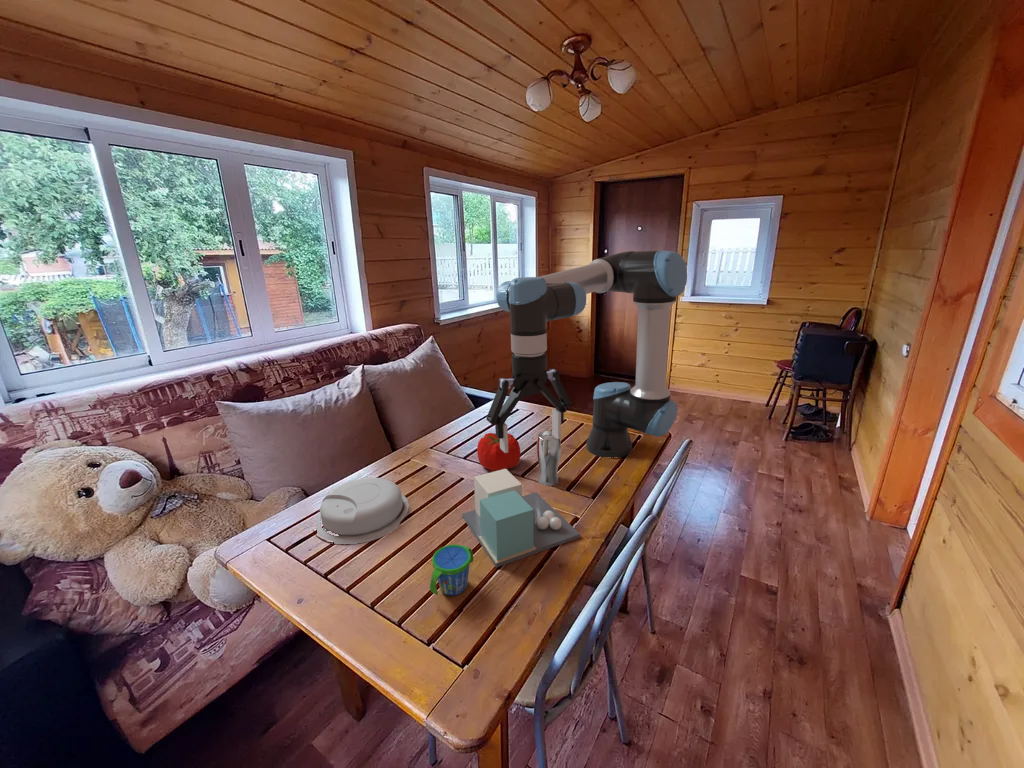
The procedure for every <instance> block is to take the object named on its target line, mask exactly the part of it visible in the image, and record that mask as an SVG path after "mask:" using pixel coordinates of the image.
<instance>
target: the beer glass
mask: <svg viewBox="0 0 1024 768" xmlns="http://www.w3.org/2000/svg"><path fill="white" fill-rule="evenodd" d="M536 439H537V441H536V457H537V461H538V468H539V473H538V478H537V482H538V483H539V484H540V485H543V486H547V487H548V486H549V487H551V486H554V485H555V486H556V485H557V484H558V483H559V481H560V480H559V475H558V468H559V464H560V460H561V459H560V458H561V454H562V453H561V451H562V450H561V449H562V447H561V446H562V444H561V439H557V438H556V437H554V436H553V435H552V430H541V431H539V432H538V433H537V438H536Z"/></svg>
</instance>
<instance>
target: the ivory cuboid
mask: <svg viewBox="0 0 1024 768" xmlns="http://www.w3.org/2000/svg"><path fill="white" fill-rule="evenodd" d="M473 484H474V506H475V509H474V510H475V511H476V512H477V514H478V515H479V516H480V500H481V499H485V498H489V497H492V496H496V495H499V494H503V493H506V492H510V491H514V490H515V491H516V492H517V493H518V494H519V495H520V496H521V497H522V496H523V484H522V483H521V481H519V480H518V479H517V478H516V477H515V476H514V475H513V474H512V473H511V472H510V471H509V469H502V470H498V471H490V472H488V473H483V474H479V475H476V476H475V475H474V476H473Z"/></svg>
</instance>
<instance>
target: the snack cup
mask: <svg viewBox="0 0 1024 768" xmlns="http://www.w3.org/2000/svg"><path fill="white" fill-rule="evenodd" d="M431 561H432V567H433V570H432V574H431V577H430V582H429V583H430V584H429V590H430V592H431V593H432V594H433V595H439V592H438V589H437V582H438V585H439V588H440V591H441V592H442V594H444V595H447V596H459V595H460V594H461V593H463V592H464V591H465V589H466V588H467V586H468V581H469V574H470V573H469V572H470V565H471V563H473V562H474V554H473V550H472V549H471V548H470V547H468V546H465V545H461V544H448V545H445V546H442V547H440V548H439V549H437V550H436V551H435V552H434V553H433V555H432V557H431Z"/></svg>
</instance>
